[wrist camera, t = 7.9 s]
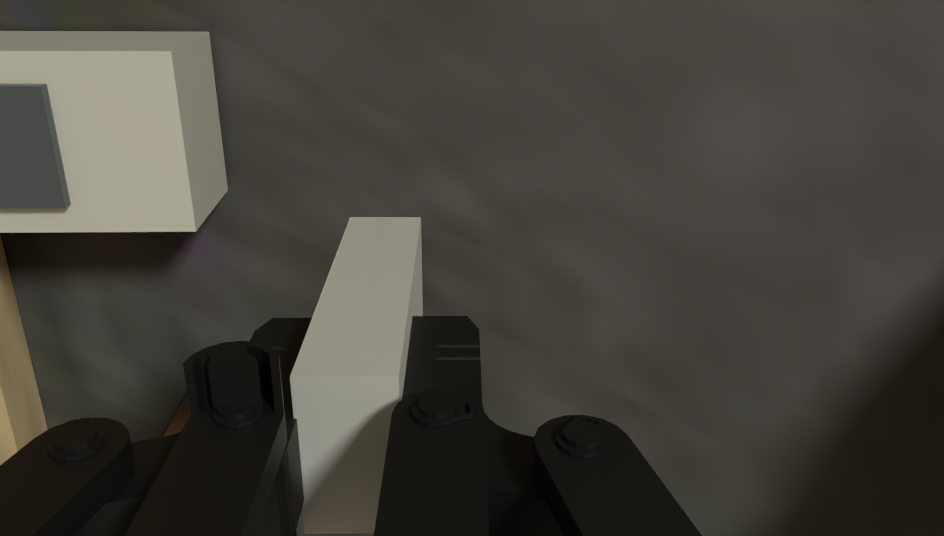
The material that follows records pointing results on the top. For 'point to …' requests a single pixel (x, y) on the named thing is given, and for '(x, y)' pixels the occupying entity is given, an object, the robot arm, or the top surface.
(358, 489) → the robot arm
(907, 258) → the top surface
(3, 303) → the batten
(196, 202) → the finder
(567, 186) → the top surface
